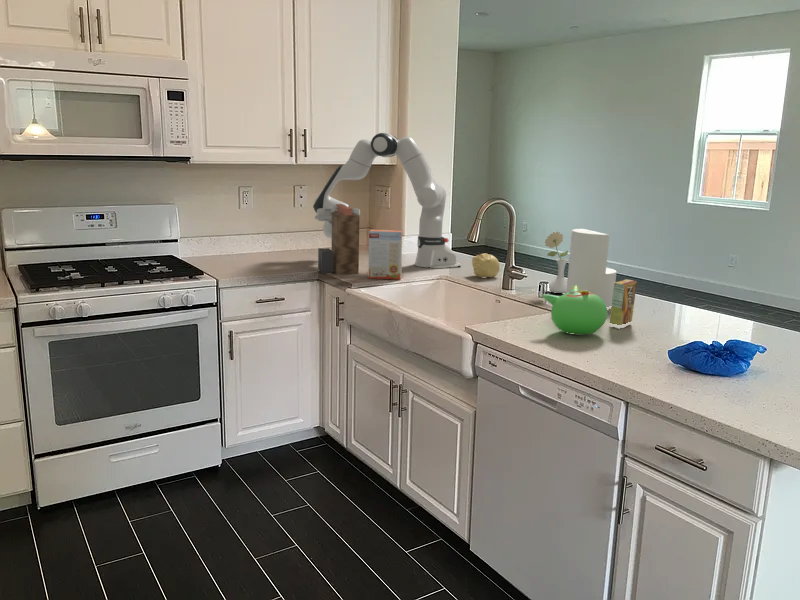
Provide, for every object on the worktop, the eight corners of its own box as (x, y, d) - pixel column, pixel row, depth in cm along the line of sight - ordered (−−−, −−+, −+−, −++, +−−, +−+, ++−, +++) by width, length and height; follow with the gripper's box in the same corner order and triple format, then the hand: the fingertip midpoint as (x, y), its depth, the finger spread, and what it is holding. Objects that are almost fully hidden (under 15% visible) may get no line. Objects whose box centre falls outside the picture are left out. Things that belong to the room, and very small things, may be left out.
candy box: (620, 322, 230) (625, 278, 226) (632, 325, 227) (637, 280, 224) (608, 327, 223) (613, 282, 220) (620, 330, 221) (625, 284, 217)
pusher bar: (342, 210, 313) (342, 204, 312) (351, 215, 294) (351, 208, 294) (335, 210, 312) (336, 204, 312) (344, 215, 294) (345, 208, 293)
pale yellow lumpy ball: (467, 275, 306) (468, 251, 304) (490, 274, 310) (492, 250, 308) (479, 280, 296) (480, 255, 293) (503, 278, 300) (504, 255, 298)
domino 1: (328, 270, 307) (329, 248, 305) (329, 270, 306) (329, 248, 303) (318, 270, 306) (318, 248, 303) (318, 270, 304) (318, 249, 302)
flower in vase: (570, 290, 280) (575, 230, 274) (576, 296, 268) (582, 234, 263) (538, 289, 280) (543, 229, 274) (543, 295, 269) (548, 233, 263)
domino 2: (330, 271, 304) (330, 249, 302) (331, 272, 302) (331, 250, 300) (319, 271, 303) (319, 249, 300) (320, 272, 301) (320, 250, 299)
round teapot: (578, 344, 203) (582, 296, 200) (536, 330, 216) (540, 286, 213) (615, 336, 213) (620, 290, 210) (573, 323, 227) (577, 281, 223)
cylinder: (580, 312, 243) (588, 234, 237) (556, 301, 260) (563, 228, 253) (622, 310, 248) (630, 234, 242) (596, 299, 264) (603, 228, 258)
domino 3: (331, 272, 301) (332, 250, 298) (332, 273, 299) (332, 251, 297) (320, 273, 299) (320, 250, 297) (321, 273, 298) (321, 251, 296)
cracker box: (401, 277, 295) (403, 230, 290) (400, 280, 289) (401, 231, 284) (369, 276, 296) (371, 228, 292) (367, 278, 290) (369, 230, 286)
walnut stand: (352, 268, 313) (353, 212, 307) (358, 273, 301) (359, 215, 295) (331, 269, 310) (331, 212, 304) (336, 273, 298) (337, 215, 293)
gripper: (313, 213, 318) (318, 200, 306) (355, 213, 324) (362, 201, 312) (314, 225, 317) (319, 213, 304) (357, 225, 323) (363, 213, 310)
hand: (341, 207), depth 308 cm, fingers closed on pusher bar, 3 cm apart
